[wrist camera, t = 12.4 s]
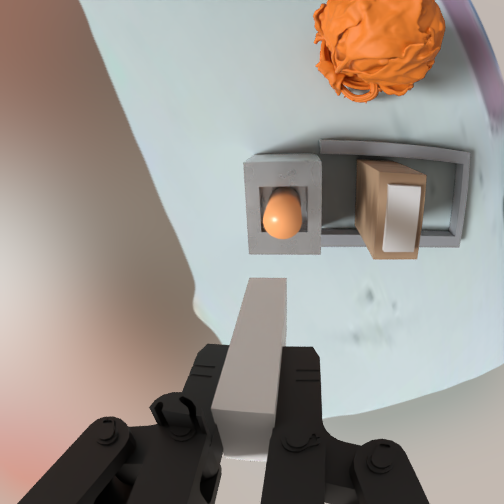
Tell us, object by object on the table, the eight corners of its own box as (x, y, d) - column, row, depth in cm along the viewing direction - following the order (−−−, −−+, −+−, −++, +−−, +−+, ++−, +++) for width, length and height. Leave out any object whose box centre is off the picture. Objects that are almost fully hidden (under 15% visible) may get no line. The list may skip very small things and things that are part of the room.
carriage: (356, 158, 32) (381, 173, 23) (392, 160, 32) (429, 176, 22) (354, 224, 35) (375, 262, 26) (388, 225, 35) (419, 261, 25)
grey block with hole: (254, 154, 34) (243, 162, 27) (315, 153, 33) (321, 161, 26) (258, 227, 37) (249, 254, 30) (315, 227, 36) (320, 254, 29)
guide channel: (319, 139, 32) (320, 140, 30) (462, 151, 29) (470, 152, 28) (319, 240, 37) (320, 246, 35) (452, 241, 34) (459, 247, 32)
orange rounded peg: (268, 187, 30) (262, 202, 24) (300, 187, 29) (301, 201, 24) (269, 218, 31) (263, 239, 26) (300, 218, 31) (302, 239, 25)
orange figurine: (415, 67, 27) (502, 36, 10) (358, 123, 31) (420, 123, 14) (346, 3, 25) (382, -77, 8) (286, 57, 29) (277, -6, 12)
